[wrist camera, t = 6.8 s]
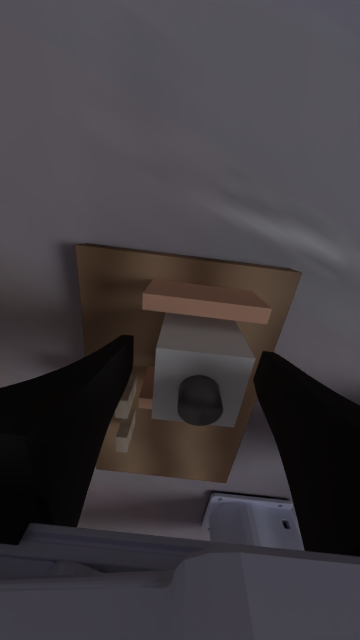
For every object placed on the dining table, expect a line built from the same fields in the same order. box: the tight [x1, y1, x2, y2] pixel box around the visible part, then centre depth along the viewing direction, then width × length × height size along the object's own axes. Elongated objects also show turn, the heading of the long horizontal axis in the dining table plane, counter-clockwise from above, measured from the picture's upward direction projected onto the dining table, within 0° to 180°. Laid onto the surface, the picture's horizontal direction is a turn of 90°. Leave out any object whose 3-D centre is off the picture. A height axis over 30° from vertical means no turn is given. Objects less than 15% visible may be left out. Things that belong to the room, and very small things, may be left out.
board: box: [75, 243, 302, 483], centre depth 15 cm, size 13×21×4 cm, turn 173°
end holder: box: [138, 279, 272, 409], centre depth 12 cm, size 6×7×3 cm
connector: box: [151, 312, 255, 427], centre depth 11 cm, size 4×4×6 cm
